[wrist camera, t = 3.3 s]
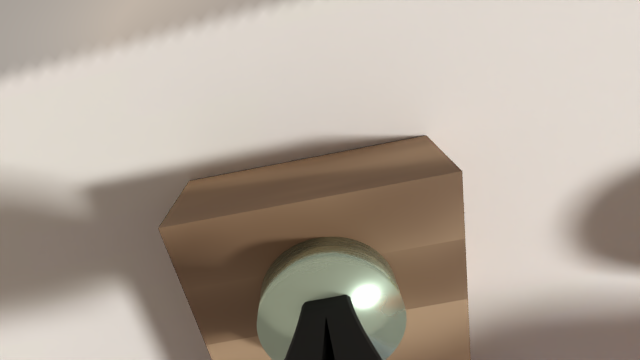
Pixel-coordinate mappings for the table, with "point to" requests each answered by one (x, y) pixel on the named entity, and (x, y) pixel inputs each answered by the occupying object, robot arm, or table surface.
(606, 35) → the table surface
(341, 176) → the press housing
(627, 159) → the table surface
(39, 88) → the table surface
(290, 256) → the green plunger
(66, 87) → the table surface
